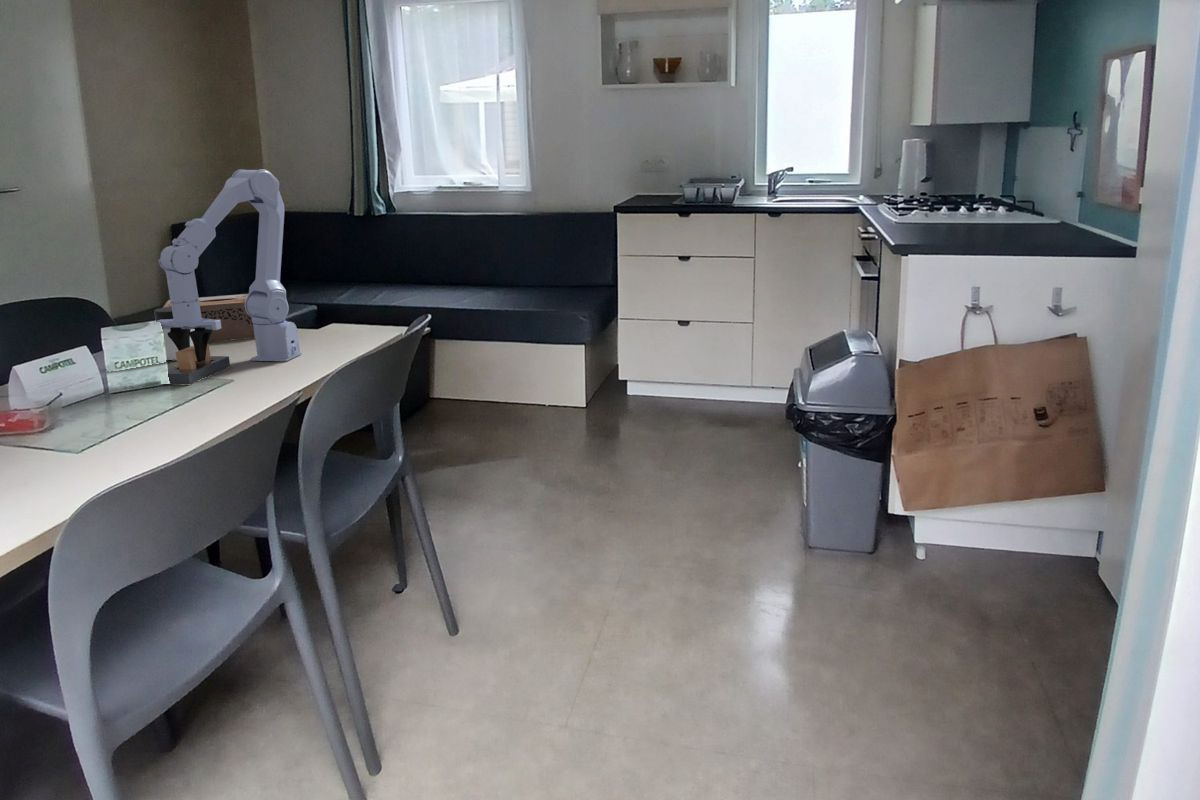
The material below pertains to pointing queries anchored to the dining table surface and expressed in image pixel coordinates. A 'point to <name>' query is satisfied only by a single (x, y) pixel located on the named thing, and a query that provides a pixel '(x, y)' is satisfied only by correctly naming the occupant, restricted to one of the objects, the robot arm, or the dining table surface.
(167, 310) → the jar
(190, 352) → the tan block
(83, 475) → the dining table surface
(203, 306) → the tissue box cover
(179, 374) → the grey slotted tray
